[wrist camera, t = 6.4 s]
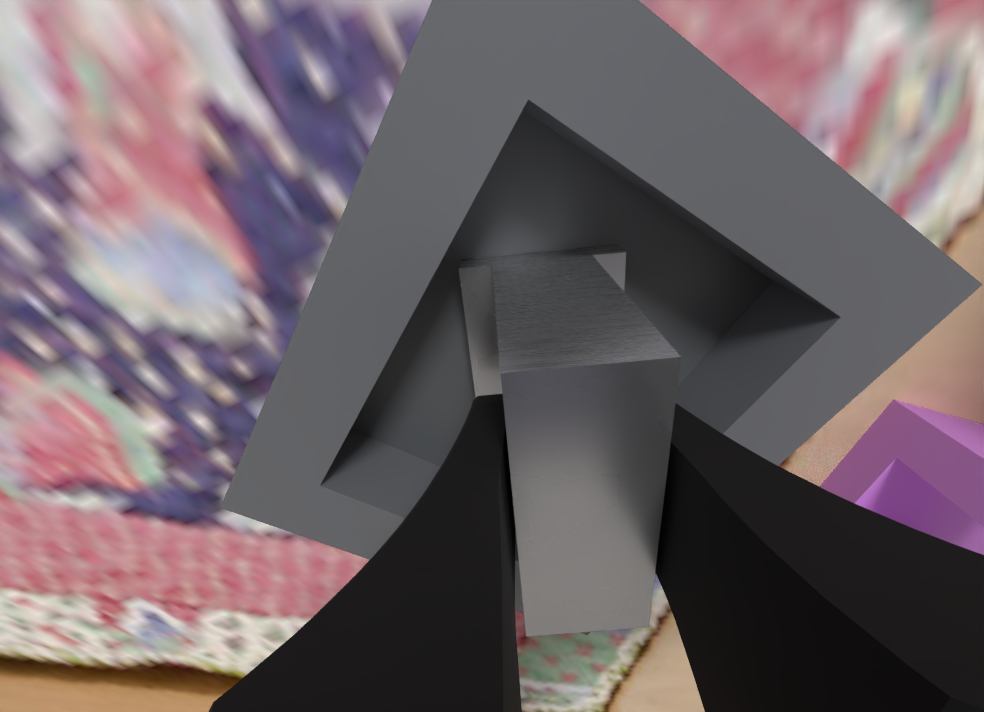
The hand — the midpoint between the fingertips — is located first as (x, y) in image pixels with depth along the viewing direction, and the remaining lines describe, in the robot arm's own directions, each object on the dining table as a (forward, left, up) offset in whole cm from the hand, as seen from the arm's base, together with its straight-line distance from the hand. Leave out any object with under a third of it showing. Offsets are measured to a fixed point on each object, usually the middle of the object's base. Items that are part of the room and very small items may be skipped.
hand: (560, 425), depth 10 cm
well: (0, 0, -4) cm, 4 cm away
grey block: (0, 0, -3) cm, 3 cm away
